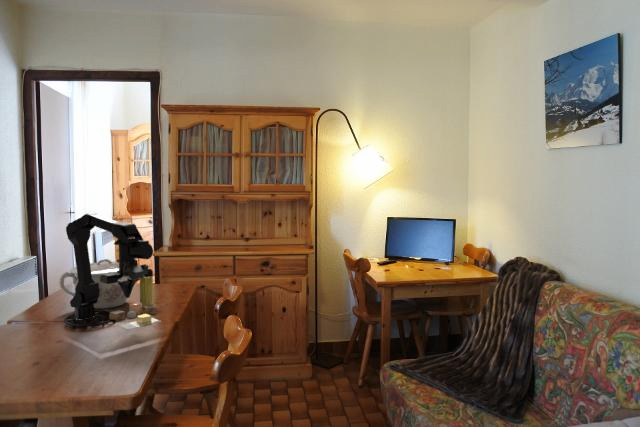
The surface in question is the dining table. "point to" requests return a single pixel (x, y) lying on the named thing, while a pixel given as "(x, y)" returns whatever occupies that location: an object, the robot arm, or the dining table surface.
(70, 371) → the dining table surface
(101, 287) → the chamber pot
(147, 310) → the walnut cube
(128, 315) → the grey ball
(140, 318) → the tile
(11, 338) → the dining table surface
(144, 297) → the vase
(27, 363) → the dining table surface
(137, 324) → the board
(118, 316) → the walnut cube
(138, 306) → the peach rounded capsule
